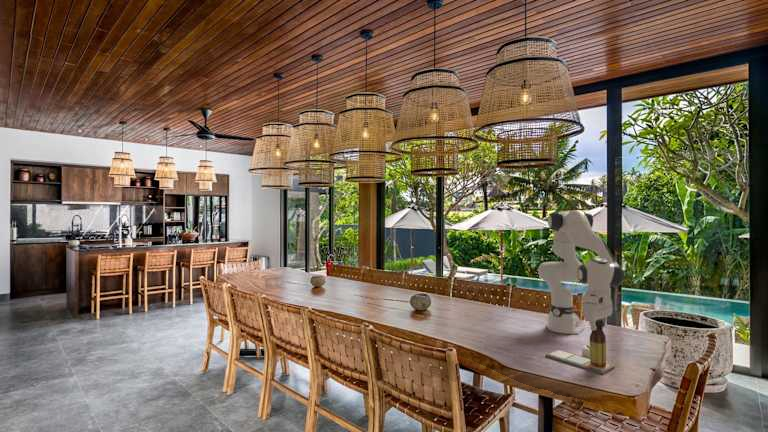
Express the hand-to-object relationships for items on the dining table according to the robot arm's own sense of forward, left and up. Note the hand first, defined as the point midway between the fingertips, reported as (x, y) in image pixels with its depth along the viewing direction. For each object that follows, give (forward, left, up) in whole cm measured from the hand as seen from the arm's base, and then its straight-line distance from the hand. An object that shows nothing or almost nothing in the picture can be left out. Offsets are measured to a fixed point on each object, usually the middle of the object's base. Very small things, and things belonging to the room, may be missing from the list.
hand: (598, 328), depth 167 cm
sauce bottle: (0, 0, -16) cm, 16 cm away
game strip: (0, -8, -17) cm, 19 cm away
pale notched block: (-10, -8, -17) cm, 21 cm away
